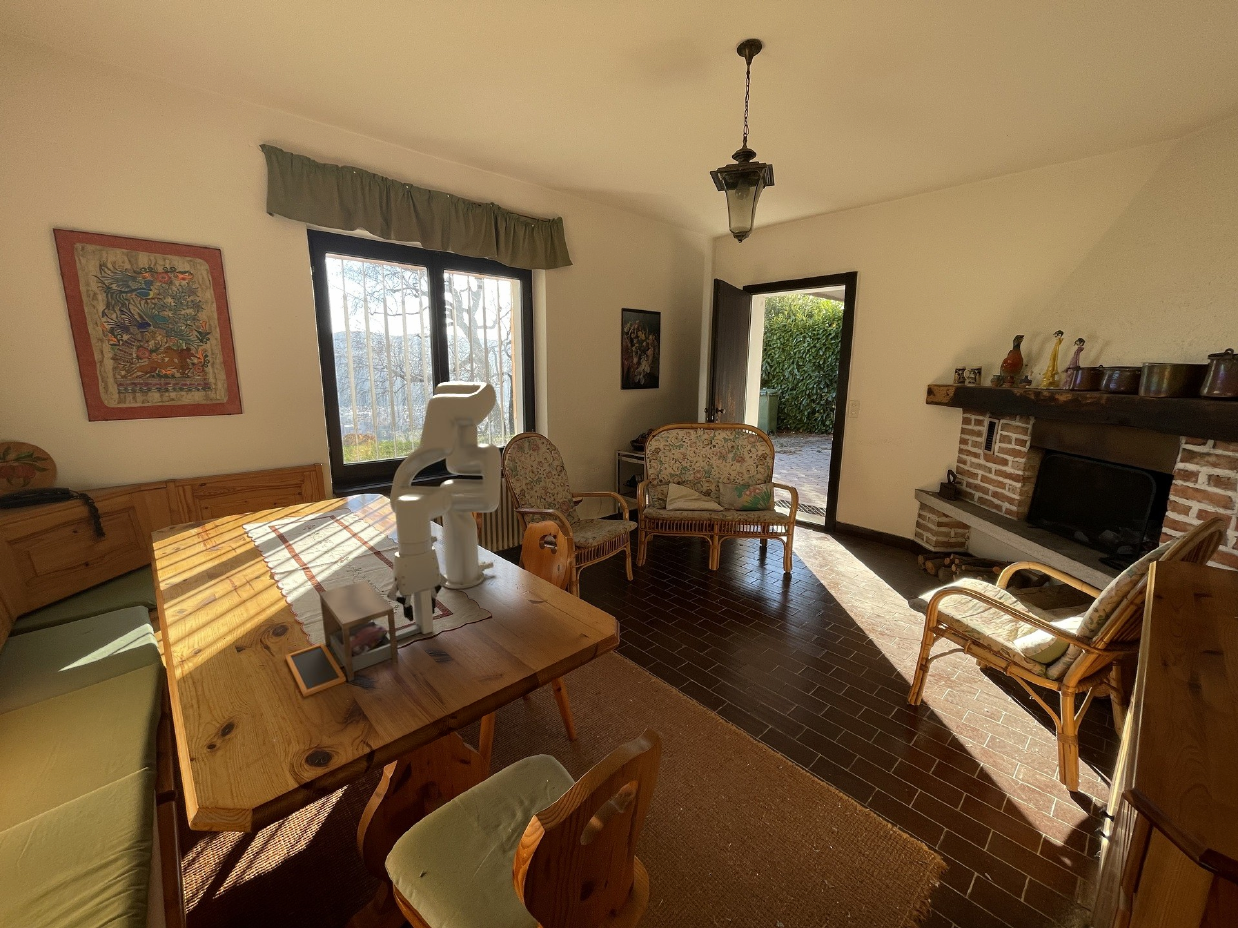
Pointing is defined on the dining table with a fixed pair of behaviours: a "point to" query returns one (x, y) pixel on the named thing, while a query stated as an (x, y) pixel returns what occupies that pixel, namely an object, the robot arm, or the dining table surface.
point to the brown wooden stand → (355, 615)
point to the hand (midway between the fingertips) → (420, 614)
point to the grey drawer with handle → (380, 654)
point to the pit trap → (314, 669)
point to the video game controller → (366, 639)
